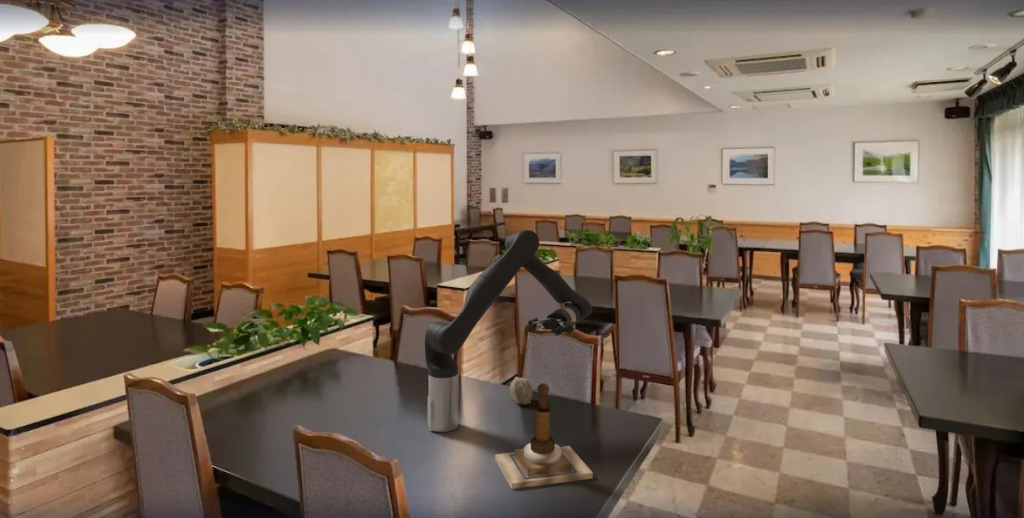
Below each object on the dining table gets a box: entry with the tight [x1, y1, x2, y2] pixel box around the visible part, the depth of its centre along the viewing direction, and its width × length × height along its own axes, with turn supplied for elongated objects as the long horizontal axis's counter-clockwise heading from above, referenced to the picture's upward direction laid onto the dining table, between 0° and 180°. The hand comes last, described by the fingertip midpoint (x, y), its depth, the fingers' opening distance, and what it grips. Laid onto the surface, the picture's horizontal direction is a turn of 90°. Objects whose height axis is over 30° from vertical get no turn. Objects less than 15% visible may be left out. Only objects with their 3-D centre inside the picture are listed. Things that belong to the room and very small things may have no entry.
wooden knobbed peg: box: [530, 383, 556, 454], centre depth 162 cm, size 7×6×18 cm
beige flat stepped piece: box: [494, 442, 594, 490], centre depth 163 cm, size 22×17×6 cm
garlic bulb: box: [509, 376, 533, 405], centre depth 213 cm, size 9×8×10 cm
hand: (543, 330), depth 184 cm, fingers open, 8 cm apart
